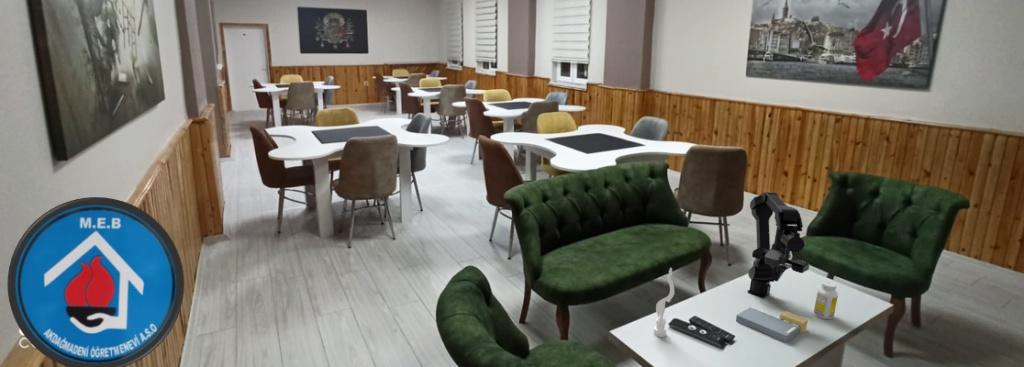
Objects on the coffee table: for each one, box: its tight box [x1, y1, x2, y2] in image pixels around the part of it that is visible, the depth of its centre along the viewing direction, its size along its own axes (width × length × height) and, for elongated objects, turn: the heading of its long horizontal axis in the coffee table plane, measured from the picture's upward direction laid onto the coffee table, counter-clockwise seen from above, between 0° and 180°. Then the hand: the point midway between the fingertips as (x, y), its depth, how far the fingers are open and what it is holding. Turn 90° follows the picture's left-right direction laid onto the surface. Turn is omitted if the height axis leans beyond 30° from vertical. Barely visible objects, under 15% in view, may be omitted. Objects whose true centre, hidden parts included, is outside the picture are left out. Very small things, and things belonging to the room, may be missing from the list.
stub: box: [779, 310, 809, 334], centre depth 199 cm, size 8×4×4 cm, turn 40°
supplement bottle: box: [813, 280, 839, 320], centre depth 207 cm, size 7×7×13 cm
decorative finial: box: [653, 267, 675, 338], centre depth 188 cm, size 6×4×25 cm
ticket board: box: [735, 306, 800, 343], centre depth 198 cm, size 18×10×3 cm, turn 40°
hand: (776, 281), depth 208 cm, fingers closed
